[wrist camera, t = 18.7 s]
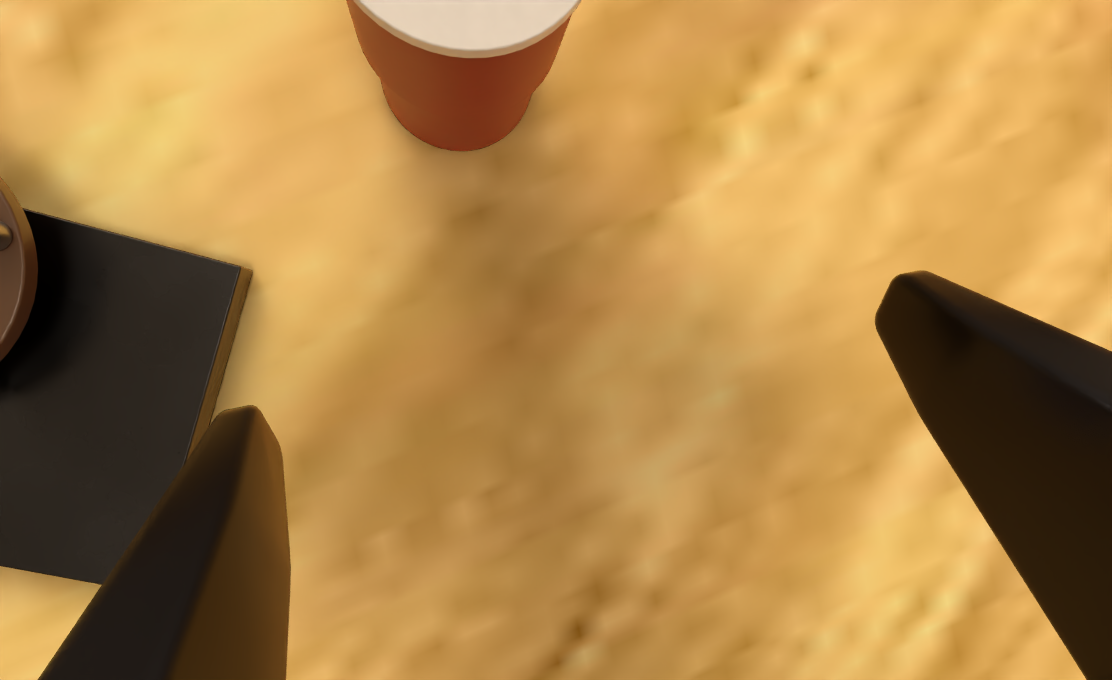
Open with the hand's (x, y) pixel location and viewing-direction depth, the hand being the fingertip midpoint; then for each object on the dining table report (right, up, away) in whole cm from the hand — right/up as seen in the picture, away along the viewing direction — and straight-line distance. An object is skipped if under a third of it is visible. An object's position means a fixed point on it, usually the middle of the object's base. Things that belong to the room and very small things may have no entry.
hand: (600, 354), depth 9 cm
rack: (-16, -1, +10) cm, 20 cm away
